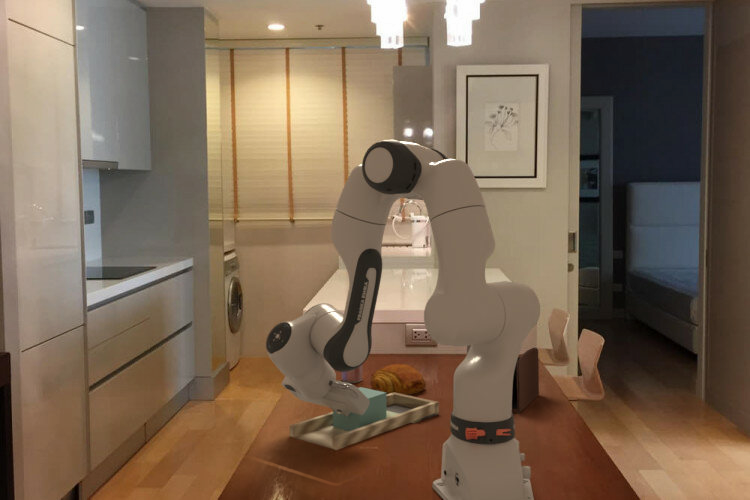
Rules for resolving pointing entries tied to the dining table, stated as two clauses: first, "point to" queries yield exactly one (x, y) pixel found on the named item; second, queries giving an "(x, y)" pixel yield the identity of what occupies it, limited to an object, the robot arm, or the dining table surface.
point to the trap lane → (397, 414)
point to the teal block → (371, 415)
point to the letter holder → (525, 380)
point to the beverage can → (352, 375)
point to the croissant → (398, 380)
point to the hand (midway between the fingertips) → (344, 412)
